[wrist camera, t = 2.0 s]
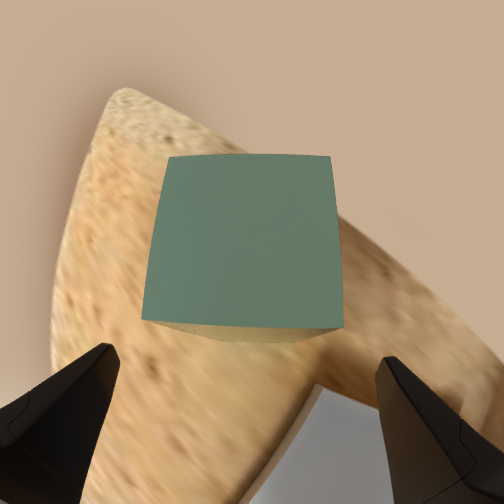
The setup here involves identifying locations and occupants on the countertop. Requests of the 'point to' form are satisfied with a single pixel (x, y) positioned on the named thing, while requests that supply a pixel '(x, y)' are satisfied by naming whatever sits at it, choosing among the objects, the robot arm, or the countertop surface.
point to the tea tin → (246, 249)
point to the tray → (327, 456)
